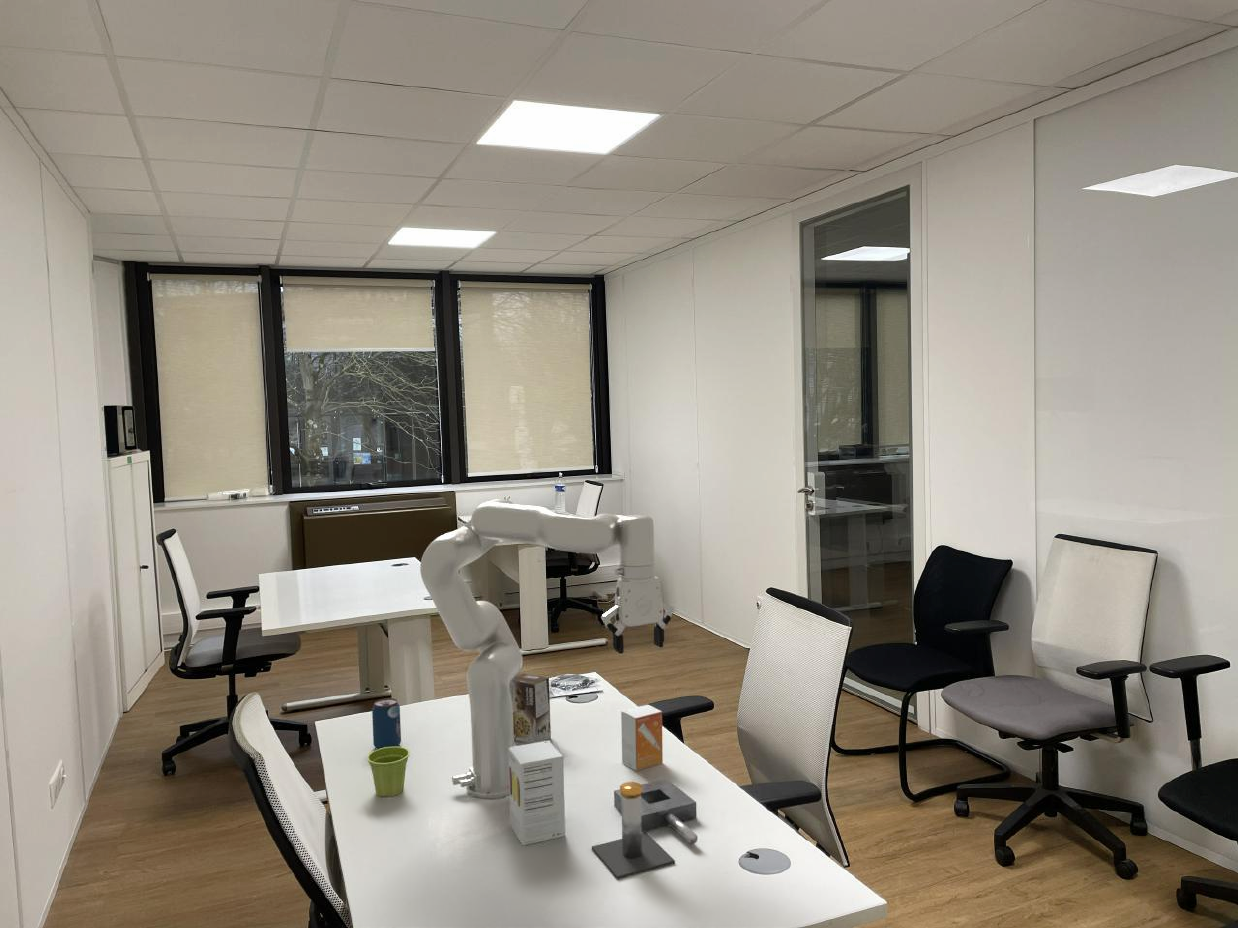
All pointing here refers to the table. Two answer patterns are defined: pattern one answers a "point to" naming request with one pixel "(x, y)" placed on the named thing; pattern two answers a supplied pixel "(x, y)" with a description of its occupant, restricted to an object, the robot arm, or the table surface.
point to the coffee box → (530, 708)
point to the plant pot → (389, 769)
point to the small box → (641, 737)
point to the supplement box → (536, 792)
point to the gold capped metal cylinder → (631, 819)
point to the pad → (626, 867)
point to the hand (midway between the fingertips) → (639, 648)
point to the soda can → (386, 723)
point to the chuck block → (664, 808)
